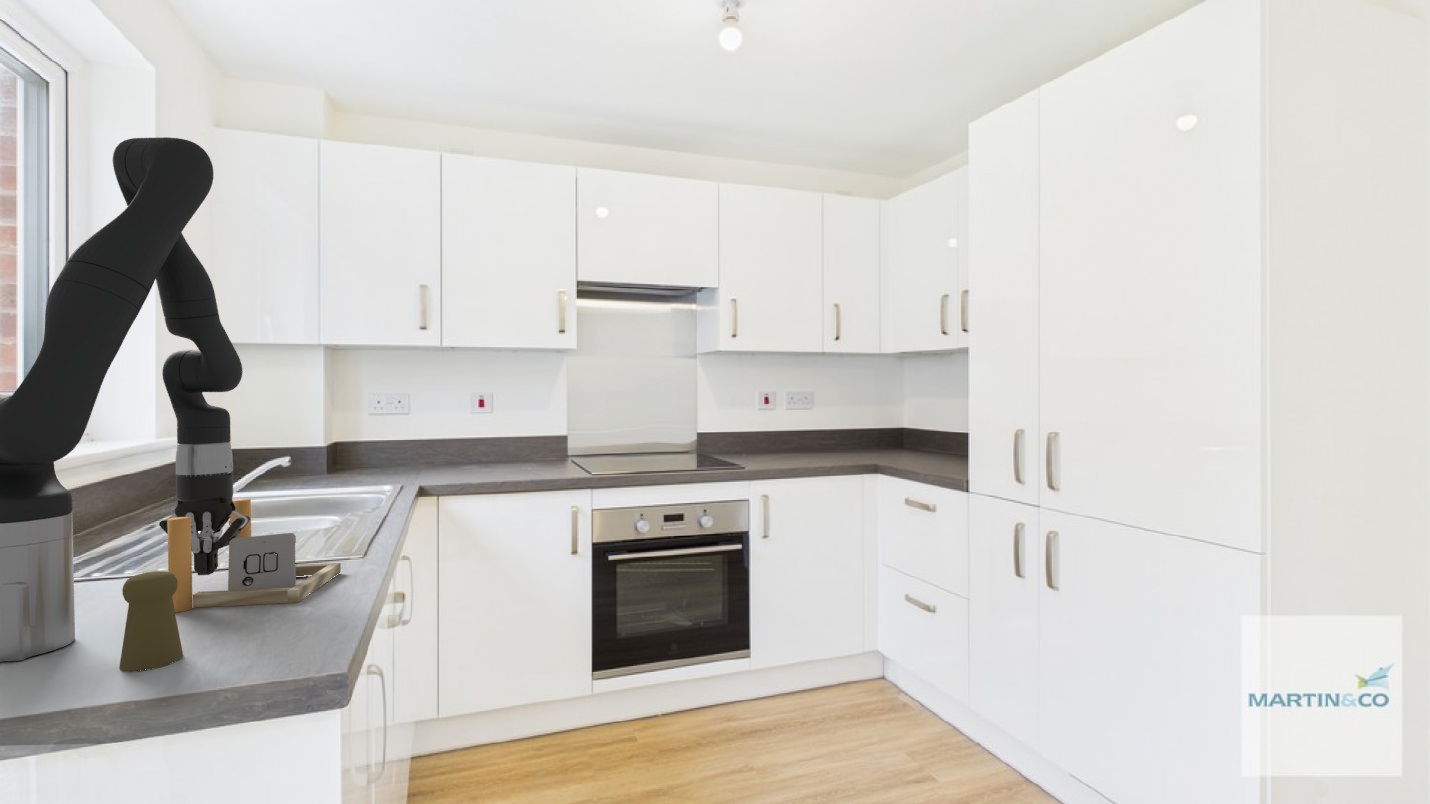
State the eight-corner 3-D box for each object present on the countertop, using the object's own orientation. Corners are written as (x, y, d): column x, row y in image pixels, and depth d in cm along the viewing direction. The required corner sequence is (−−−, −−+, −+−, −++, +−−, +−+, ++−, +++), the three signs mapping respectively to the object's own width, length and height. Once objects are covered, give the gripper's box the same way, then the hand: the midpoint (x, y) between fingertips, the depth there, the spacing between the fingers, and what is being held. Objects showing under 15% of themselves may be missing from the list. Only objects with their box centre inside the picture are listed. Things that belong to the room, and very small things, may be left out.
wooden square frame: (298, 602, 105) (297, 589, 105) (193, 607, 102) (192, 594, 102) (340, 573, 121) (340, 562, 121) (250, 577, 119) (250, 566, 119)
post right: (246, 580, 117) (245, 501, 117) (229, 580, 117) (227, 501, 116) (255, 575, 120) (253, 498, 120) (238, 576, 119) (236, 499, 119)
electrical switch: (227, 597, 107) (227, 539, 108) (231, 592, 112) (231, 536, 112) (295, 589, 112) (295, 533, 112) (297, 584, 116) (296, 531, 117)
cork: (195, 651, 85) (193, 566, 85) (157, 671, 79) (155, 580, 79) (147, 652, 85) (145, 567, 85) (105, 672, 79) (103, 580, 79)
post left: (185, 612, 100) (183, 520, 100) (164, 613, 100) (162, 520, 100) (196, 606, 103) (195, 516, 103) (176, 607, 103) (175, 517, 102)
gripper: (144, 473, 105) (146, 582, 105) (236, 472, 107) (237, 578, 107) (174, 468, 112) (176, 569, 113) (260, 466, 114) (261, 566, 115)
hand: (206, 574), depth 110 cm, fingers closed
